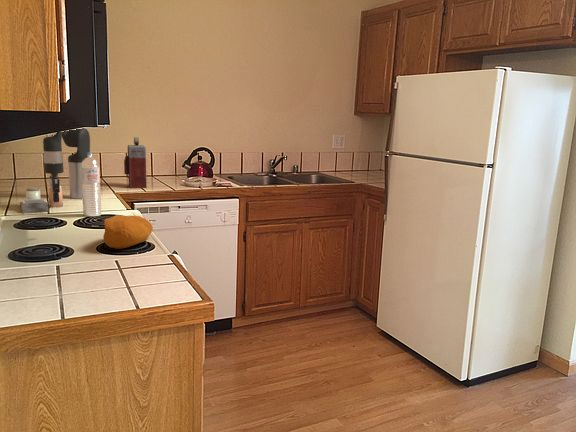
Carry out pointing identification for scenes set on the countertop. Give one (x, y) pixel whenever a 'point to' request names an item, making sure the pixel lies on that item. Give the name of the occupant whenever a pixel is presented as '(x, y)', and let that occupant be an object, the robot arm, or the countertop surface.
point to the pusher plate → (34, 200)
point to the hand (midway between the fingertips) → (55, 200)
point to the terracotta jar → (51, 202)
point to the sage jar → (33, 193)
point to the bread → (126, 231)
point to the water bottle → (91, 186)
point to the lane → (34, 207)
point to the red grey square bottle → (136, 165)
